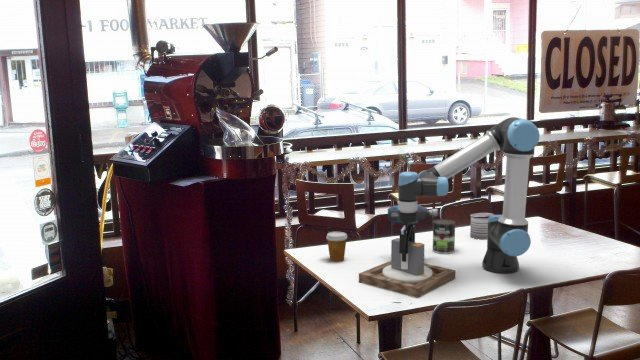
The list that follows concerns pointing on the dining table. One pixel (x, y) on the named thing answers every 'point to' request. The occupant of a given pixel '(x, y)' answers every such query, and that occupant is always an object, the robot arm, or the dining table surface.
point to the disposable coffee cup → (336, 245)
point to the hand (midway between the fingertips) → (407, 266)
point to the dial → (415, 264)
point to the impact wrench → (421, 214)
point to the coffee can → (443, 236)
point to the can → (479, 225)
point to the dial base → (415, 290)
